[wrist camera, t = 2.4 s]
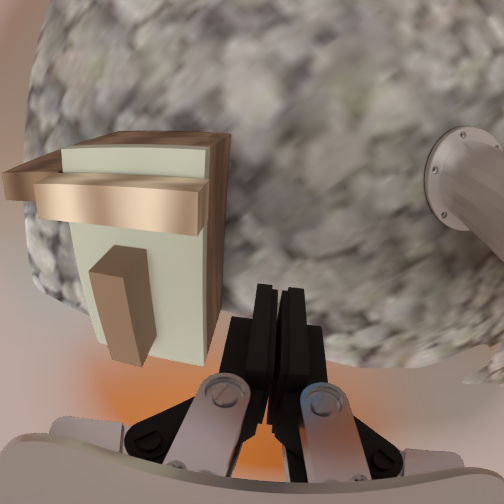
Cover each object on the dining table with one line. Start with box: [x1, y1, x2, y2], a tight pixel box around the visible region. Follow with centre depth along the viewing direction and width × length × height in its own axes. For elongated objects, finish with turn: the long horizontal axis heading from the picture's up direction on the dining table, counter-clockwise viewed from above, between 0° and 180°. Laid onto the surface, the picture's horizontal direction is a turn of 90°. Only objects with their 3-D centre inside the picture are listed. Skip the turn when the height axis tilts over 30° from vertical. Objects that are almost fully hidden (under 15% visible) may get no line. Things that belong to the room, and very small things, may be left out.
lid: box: [61, 144, 210, 367], centre depth 25 cm, size 13×22×6 cm, turn 175°
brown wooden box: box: [2, 131, 231, 354], centre depth 31 cm, size 22×22×10 cm
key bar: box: [34, 173, 209, 236], centre depth 21 cm, size 14×3×3 cm, turn 85°
